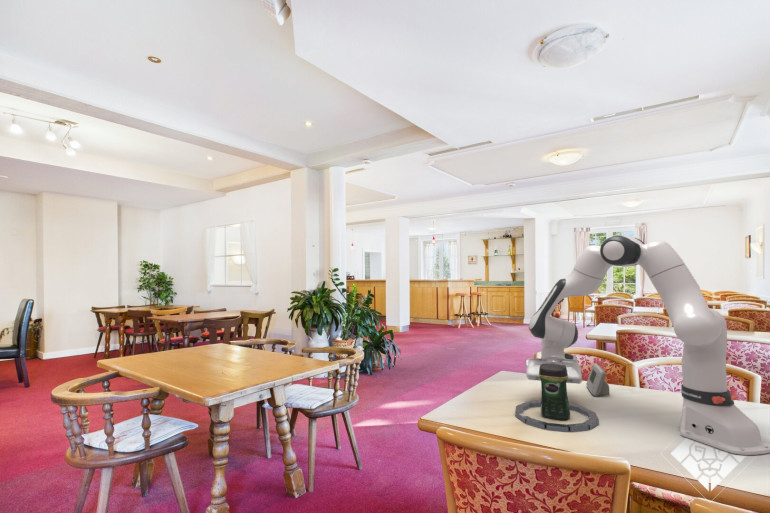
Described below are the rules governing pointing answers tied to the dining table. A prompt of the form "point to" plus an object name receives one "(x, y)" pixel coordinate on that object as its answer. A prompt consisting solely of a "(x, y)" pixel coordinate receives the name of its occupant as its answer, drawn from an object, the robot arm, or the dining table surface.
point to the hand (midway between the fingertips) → (553, 390)
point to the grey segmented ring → (583, 426)
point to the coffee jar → (554, 391)
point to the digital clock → (597, 381)
